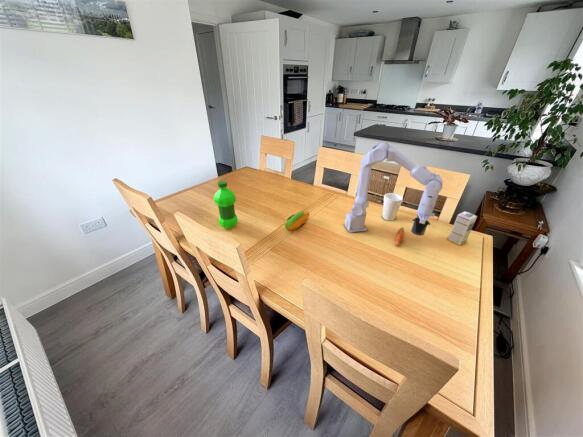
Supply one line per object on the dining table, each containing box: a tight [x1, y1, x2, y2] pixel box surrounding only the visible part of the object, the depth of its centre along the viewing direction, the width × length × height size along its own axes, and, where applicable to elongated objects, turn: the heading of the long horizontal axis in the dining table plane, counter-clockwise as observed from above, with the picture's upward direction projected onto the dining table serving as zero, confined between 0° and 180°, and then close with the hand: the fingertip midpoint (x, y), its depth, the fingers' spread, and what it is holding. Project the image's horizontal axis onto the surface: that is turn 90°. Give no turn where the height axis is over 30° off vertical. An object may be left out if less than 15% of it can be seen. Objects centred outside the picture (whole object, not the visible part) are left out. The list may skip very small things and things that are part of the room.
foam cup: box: [382, 192, 404, 221], centre depth 129 cm, size 10×9×13 cm
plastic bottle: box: [213, 180, 239, 230], centre depth 118 cm, size 10×10×25 cm
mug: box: [410, 217, 431, 237], centre depth 107 cm, size 6×7×6 cm
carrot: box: [395, 227, 405, 247], centre depth 115 cm, size 16×3×3 cm, turn 150°
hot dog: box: [284, 210, 310, 232], centre depth 124 cm, size 7×8×20 cm
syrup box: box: [447, 211, 478, 246], centre depth 110 cm, size 6×6×14 cm
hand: (418, 229), depth 108 cm, fingers closed on mug, 5 cm apart
